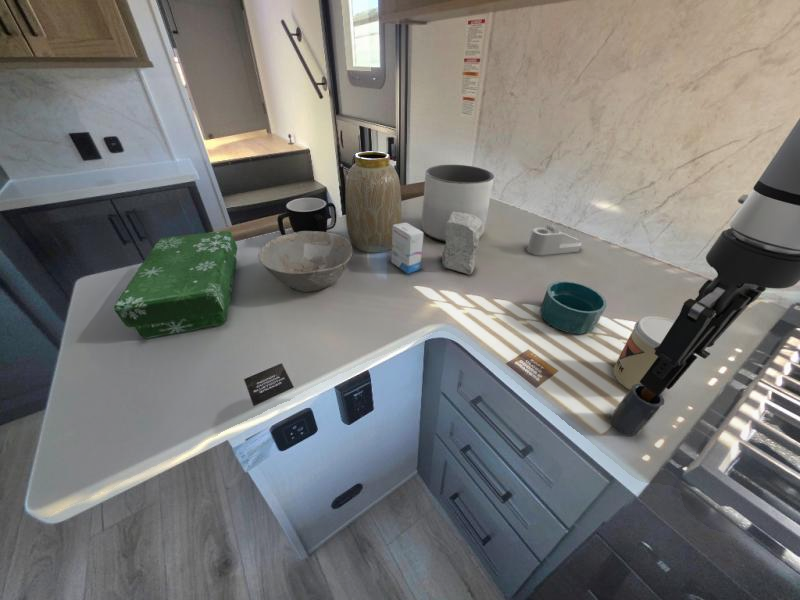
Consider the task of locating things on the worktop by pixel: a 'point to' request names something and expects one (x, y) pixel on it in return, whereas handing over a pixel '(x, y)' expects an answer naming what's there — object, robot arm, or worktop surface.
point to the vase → (372, 202)
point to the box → (181, 285)
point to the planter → (454, 196)
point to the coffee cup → (641, 349)
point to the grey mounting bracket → (551, 241)
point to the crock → (635, 411)
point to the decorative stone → (461, 242)
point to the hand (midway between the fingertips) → (655, 384)
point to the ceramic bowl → (307, 259)
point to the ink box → (407, 247)
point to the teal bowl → (572, 307)
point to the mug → (308, 215)
